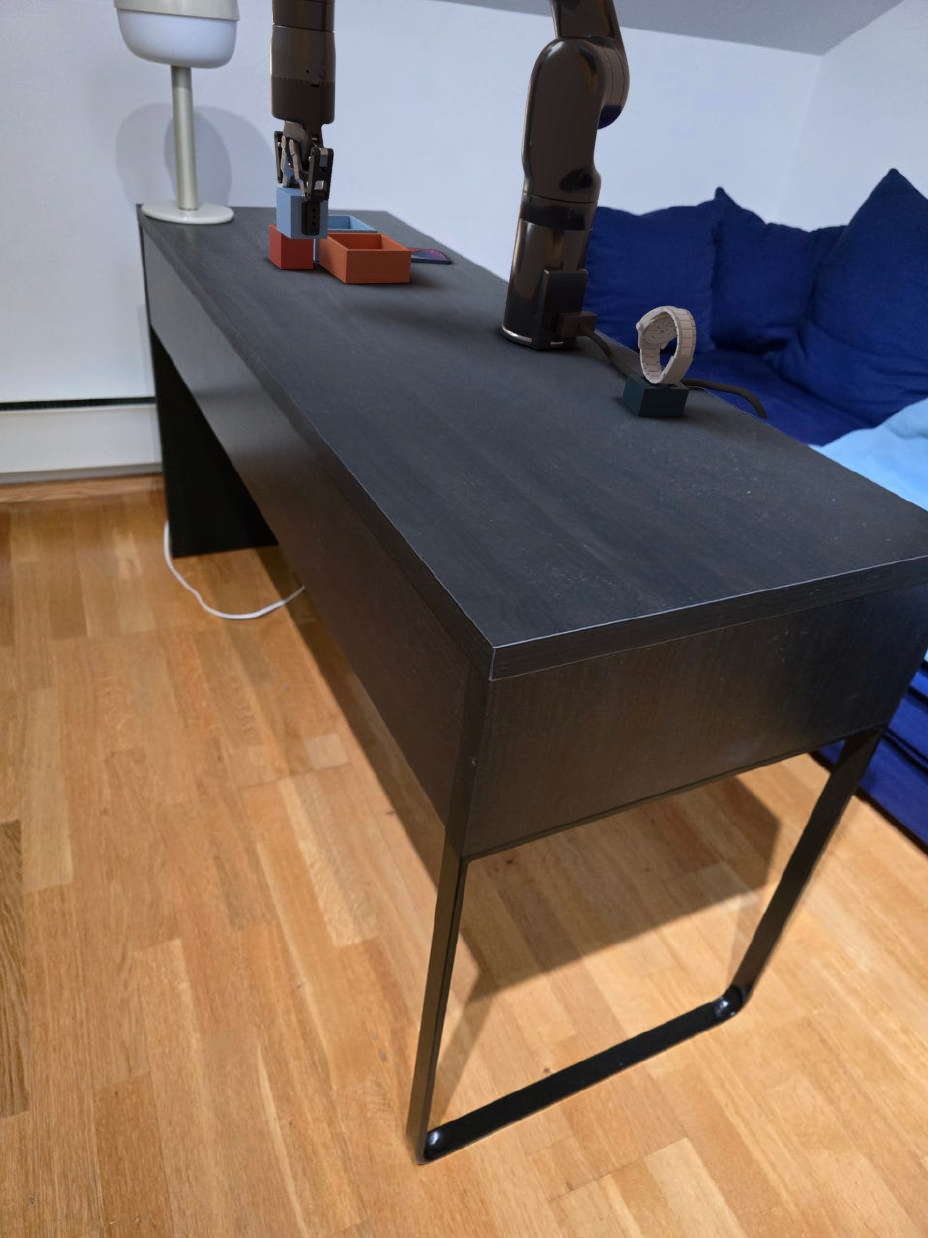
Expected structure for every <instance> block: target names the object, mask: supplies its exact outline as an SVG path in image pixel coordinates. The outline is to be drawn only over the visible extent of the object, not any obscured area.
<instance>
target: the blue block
mask: <svg viewBox="0 0 928 1238" xmlns="http://www.w3.org/2000/svg"><path fill="white" fill-rule="evenodd" d="M275 189H276V190H275V194H276V197H275V199H276V204H275V205H276V206H275V207H276V224H277V230H278V231H279V232H281V233H282V234H284V235H285V236H287V237H288V238H290V239H328V215H329V200H328V201H324V200H323V203H320V233H319V235H317V236H306V235H304V234H303V233H302V232H301V202H302V199H301V190H300V188H282V187H276V188H275Z"/></svg>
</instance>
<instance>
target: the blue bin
mask: <svg viewBox="0 0 928 1238" xmlns="http://www.w3.org/2000/svg"><path fill="white" fill-rule="evenodd" d="M328 233H378V230H377V229H376V228H374V227H372V226H371V225H369V224H368V223H365V222H364V221H362V220H360V219H358V218H357V217H356V216H353V215H352V214H328ZM319 255H320V239H314V260H313V262H319Z"/></svg>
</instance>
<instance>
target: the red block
mask: <svg viewBox="0 0 928 1238" xmlns="http://www.w3.org/2000/svg"><path fill="white" fill-rule="evenodd" d="M269 261H270V262H271V263H273V264H274V265H275V266H277V268H279V269H280V270H314V239H290V238H288V237H287V236H285V235H284V234H282V233H281V232H279V231H278V230H277V223H275V224H272V223H271V224H269Z"/></svg>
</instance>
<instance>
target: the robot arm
mask: <svg viewBox="0 0 928 1238" xmlns="http://www.w3.org/2000/svg"><path fill="white" fill-rule="evenodd" d="M548 4H549V7H550V12H551V16H552V23H553V29H554V36H555V38H554V39H553V40H551V41H550V42H548V43H547V44H546V45H545V46H543V48H542V50H541V51H540V52H539V53H538V56H537V57H536V59H535V62H534V64H533V67H532V70H531V73H530V77H529V84H528V88H527V92H526V93H527V94H526V102H525V111H524V121H523V131H522V140H521V151H520V152H521V153H520V157H521V158H520V159H521V166H522V171H523V183H522V190H521V197H520V202H519V203H520V204H519V209H518V210H519V211H518V217H517V218H518V219H517V223H516V231H515V238H514V245H513V249H512V250H513V251H512V257H511V265H510V271H509V279H508V285H507V291H506V297H505V298H506V300H505V308H504V315H503V320H502V323H501V328H500V333H501V334H502V336H503V337H504V338H506V339H508V340H509V341H511V342H513V343H517V344H518V345H519V344H520V345H523V346H528V347H530V348H532V349H534V350H553V349H569V348H575V347H576V341H577V338H581V337H587V338H589V340H591V341H593V342H594V343H595V344H596V345H597V346H598V347H599V348H600V349H601V351H602V352H603V353H604V355H605V357H606V358H607V359H608V360H609V361H610V363H611V364H612V365H613V366H614V367H615V368H616V369H617V370H618V371H619V372H620V373H621V374H622V375H623V376H624V377H625V378H627V376H628V374H640V372H636V371H634V370H631V369H630V368H628V367H627V366H626V365H625V364H624V363H623V362H622V360H620V359H619V358H618V357H617V356H616V355H615V353H614V352H613V351H612V349H611V347H610V346H609V345H608V343H607V342H606V341H605V340H604V339H603V338H602V337H601V336H600V335H598V334H597V333H596V332H595V331H596V327H597V322H598V317H599V315H598V314H597V313H594V312H592V311H590V310H583V305H584V302H585V296H586V291H587V285H588V281H589V271H588V269H586V266H587V261H588V256H589V251H590V245H591V240H592V235H593V234H592V233H593V231H594V230H593V229H594V226H595V225H594V224H595V219H596V214H597V210H598V204H599V200H600V194H601V189H602V175H601V173H600V172H599V171H598V169H597V168H596V163H595V150H596V142H597V137H598V131H600V130H603V129H605V128H607V127H609V126H611V125H612V124H613V123H615V121H617V119H619V117H620V116H621V114H622V113H623V111H624V109H625V106H626V104H627V102H628V101H627V100H628V97H629V92H630V85H631V74H630V67H629V62H628V61H629V60H628V56H627V52H626V48H625V44H624V39H623V35H622V32H621V27H620V23H619V19H618V15H617V11H616V7H615V6H616V5H615V2H614V0H548ZM271 23H272V24H271V38H270V45H269V46H270V47H269V53H270V54H269V60H270V62H269V64H270V65H269V67H270V68H269V69H270V114H271V115H272V117H273V118H275V119H277V120H281V121H284V123H283V129H282V130H274V131H273V143H274V154H275V155H274V156H275V166H276V167H275V168H276V180H277V183H278V184H279V185H280V184H281V188H300V190H301V199H302V202H301V232H302V233H303V234H304V235H306V236H317V235H319V233H320V203H323V200H324V201H328V202H329V201H330V194H331V186H332V185H331V184H332V175H333V166H334V159H335V150H334V149H333V148H332V147H325V145H324V136H323V129H322V127H323V126H324V125H331V124H333V123H334V121H335V120H336V119H335V118H336V82H337V81H336V77H337V76H336V75H337V74H336V73H337V49H336V38H335V35H336V34H335V28H336V27H335V25H336V0H271ZM680 382H681V383H682V384H684V385H685V386H686V387H697V388H701V389H707V390H711V391H716V392H723V393H727V394H732V395H736V396H739V397H741V398H743V399H745V400H746V401H747V402H748V403H749V404H750V405H751V406H752V407H753V409H754V411H755V412H756V414H757V416H758V417H759V418H761V419H768V415H767V412H766V410H765V408H764V405H763V404H762V403H761V401H760V400H759V399H758V398H757V396H756V395H755V394H754V393H753V392H751V391H749V390H748V389H746V388H743V387H741V386H737V385H732V384H726V383H721V382H716V381H711V380H706V379H701V378H694V377H693V378H692V377H682V379H681V380H680Z"/></svg>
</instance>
